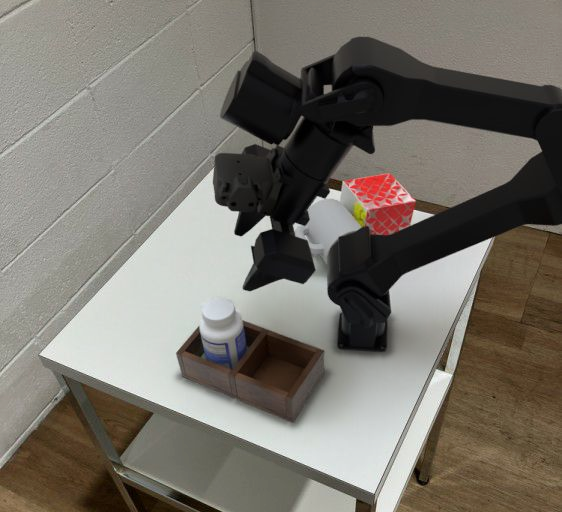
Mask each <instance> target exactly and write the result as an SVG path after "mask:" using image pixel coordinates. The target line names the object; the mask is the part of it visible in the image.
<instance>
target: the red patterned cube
mask: <svg viewBox="0 0 562 512" xmlns="http://www.w3.org/2000/svg"><path fill="white" fill-rule="evenodd" d="M339 197H340V198H339V202H341V203H342V204H343V205H344V206H345V208H346V209H347V210H348V211H349V212H350V214H351V215H352V216H353V217H354V218H355V220H356V221H357V222H358V223H359V224H360V226H361V227H365V226H369V228H370V231H371V233H372V234H376V235H390V234H393V233H395V232H397V231H400V230H402V229H404V228H406V227H409V226H411V223H412V219H413V215H414V210H415V207H416V202H417V200H416V199H415V198H414V197H413V196H412V195H411V194H410V193H409V192H408V191H407V190H406V188H405V187H403V185H402V184H400V182H399V181H398V180H397V179H396V178H395V177H394V176H393V175H392V174H391V173H390V172H388V173H383V174H377V175H371V176H364V177H359V178H352V179H347V180H342V184H341V191H340V196H339Z"/></svg>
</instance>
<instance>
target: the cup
mask: <svg viewBox="0 0 562 512" xmlns="http://www.w3.org/2000/svg"><path fill="white" fill-rule="evenodd" d="M308 214H309V218H310V220H309V222H308V223H307V225H306V226H303V225H300V224H299V225H298V226H297V227H296V228H295V229H294V231H295V236H296V237H299V238H302V239H305V240H308V243H309V246H310V249H311V254H312V257H320V258H321V259H322V261H324V263H325V264H326V265H327V256H328V253H329V251H330V248H331V247H332V246H333V245H334V244H336V243H337V242H338V237H339V236H346V235H349V234H352V233H354V232H356V231H357V230H359V229H360V228H362V227H361V226H360V224H359V223H358V222H357V221H356V220H355V218H354V217H353V216H352V215H351V214H350V212H349V211H348V210H347V209H346V208H345V206H344V205H343V204H342V203H341V202H340V200H338V199H335V198H325V199H324V198H322V199H321V200H320V199H319V200H318V201H316V202H314V203H312V204H311V206H310V207H309V209H308Z"/></svg>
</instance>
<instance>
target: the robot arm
mask: <svg viewBox="0 0 562 512" xmlns="http://www.w3.org/2000/svg"><path fill="white" fill-rule="evenodd" d="M325 86H330V87H331V90H330V91H329V92H327V93H325ZM301 117H302V118H301ZM219 118H220V119H221V120H224V121H225V122H227V123H229V124H231V125H233V126H235V127H236V128H239V129H241V130H242V131H245V132H246V133H248V134H250V135H252V136H254V137H256V138H258V139H259V140H262V141H263V142H265V143H267V144H269V145H275V147H272V148H271V149H269V148H267V147H264V146H261V145H260V144H256V143H254V144H251V145H247V146H245V147H244V148H243V150H242V151H241V153H235V152H234V153H231V152H219V153H217V154H216V155H215V156H214V163H213V166H214V167H213V175H212V186H213V193H214V201H215V203H216V204H217V205H219V206H221V207H227V208H228V210H230V211H231V212H238V216H237V218H236V222H235V227H234V230H233V233H234V236H238V237H243V236H245V235H246V234H247V233H248V232H250V231H251V230H252V229H253V228H254V227H255V226H256V225H258V224H259V223H260V222H261V221H262V220H263V219H264V218H265V217H269V219H270V220H269V221H270V225H271V228H270V229H268V230H264V231H260V232H259V234H258V235H257V237H256V238H255V241H254V244H253V245H250V250H251V256H252V261H253V262H252V265H251V267H250V269H249V271H248V273H247V275H246V276H245V280H244V282H243V284H242V290H243V291H245V292H253V291H255V290H258V289H261V288H263V287H265V286H267V285H270V284H273V283H275V282H278V281H282V280H287V281H290V282H293V283H296V284H299V285H305V284H306V283H307V282H308V281H309V280H310V279H311V278H312V276H313V275H314V273H316V271H317V270H316V266H315V263H314V258H313V255H312V254H311V249H310V246H309V243H308V241H309V239H307V240H305V239H302V238H299V237H296V236H295V227H294V225H296V224H298V225H299V226H300V225H303V226H306V225H307V223H308V222H309V220H310V218H309V214H308V209H309V208H310V207H311V206H312V205H313V204H314V203H315V202H314V201H315V200H316V199H317V198H321V199H327V197H328V196H329V194H330V193H331V190H330V186H329V183H328V182H329V181H330V179H332V176H333V175H334V174H335V173H336V171H337V170H338V168H339V167H340V165H341V164H342V162H343V161H344V160H345V158H346V157H347V155H349V154H348V153H350V151H351V150H352V149H353V147H355V148H358V149H360V150H361V151H363V152H365V153H367V154H368V155H373V154H374V153H375V152H376V145H375V137H374V136H375V135H374V127H392V126H396V125H399V124H403V123H406V122H408V121H428V122H435V123H439V124H444V125H445V124H446V125H452V126H457V127H463V128H467V129H474V130H480V131H486V132H492V133H497V134H503V135H508V136H509V135H510V136H515V137H519V138H520V137H521V138H525V139H532V140H534V141H537V143H538V145H539V148H540V149H541V151H540V152H539V153H537V154H535V155H534V156H532V157H531V158H529V160H527V162H526V163H525V164H524V165H523V166H522V167H521V168H520V169H519V171H517V172H516V173H515V175H513V177H512V178H511V179H510V180H509V181H507V182H506V183H505V182H504V183H503V184H501V185H499V186H496V187H494V188H492V189H489V190H488V191H485V192H483V193H481V194H479V195H476V196H474V197H472V198H470V199H468V200H465V201H463V202H461V203H458V204H456V205H453V206H451V207H449V208H447V209H445V210H443V211H440V212H437V213H436V214H433V215H431V216H429V217H427V218H424V219H423V220H420V221H418V222H415V223H413V224H410V226H409V227H406V228H404V229H402V230H400V231H397V232H395V233H393V234H390V235H376V234H372V233H371V231H370V228H369V226H365V227H362V228H360V229H359V230H357V231H356V232H354V233H352V234H349V235H346V236H339V237H338V242H337V243H336V244H334V245H333V246H332V247H331V248H330V251H329V253H328V256H327V264H326V284H327V285H326V287H327V288H326V291H327V293H326V294H327V297H328V298H329V301H331V302H332V303H333V304H334V305H336V306H339V308H340V310H341V312H340V313H339V319H338V331H337V342H336V347H337V349H338V350H349V351H350V350H351V351H365V352H367V351H368V352H386V351H387V348H388V319H389V318H390V316H391V314H392V306H391V295H390V290H391V289H392V287H394V285H396V283H397V282H398V281H399V280H400V279H401V278H402V277H403V276H404V275H406V274H408V273H411V272H412V271H415V270H417V269H420V268H422V267H424V266H427V265H429V264H431V263H435V262H437V261H439V260H442V259H444V258H447V257H448V256H452V255H454V254H456V253H459V252H461V251H464V250H466V249H469V248H471V247H474V246H477V245H478V244H480V243H484V242H485V241H488V240H491V239H492V238H496V237H498V236H500V235H502V234H504V233H507V232H510V231H512V230H514V229H517V228H519V227H522V226H525V225H536V226H550V227H551V226H552V227H553V226H555V227H557V226H561V225H562V88H561V87H559V86H556V85H554V84H543V85H536V84H531V83H525V82H521V81H515V80H509V79H505V78H498V77H494V76H493V77H492V76H487V75H482V74H477V73H471V72H466V71H460V70H455V69H449V68H444V67H438V66H433V65H430V64H428V63H425V62H423V61H421V60H419V59H417V58H416V57H414V56H413V55H411V54H409V53H408V52H406V51H405V50H403V49H402V48H400V47H397V46H394V45H392V44H389V43H387V42H384V41H383V40H382V41H381V40H379V39H377V38H374V37H371V36H356V37H352V38H350V40H348V41H347V42H346V43H344V44H343V45H341V46H340V47H339V49H338V50H337V51H336V53H333V54H332V55H329V56H326V57H324V58H323V59H320V60H318V61H317V60H316V61H315V62H312V63H311V64H308V65H305V66H303V67H301V69H300V77H297V76H296V75H295V74H293V73H291V72H289V71H288V70H286V69H284V68H283V67H281V66H279V65H277V64H275V63H274V62H272V61H271V59H269V57H268V56H266V55H264V54H262V53H261V52H259V51H257V50H253V51H252V53H251V55H250V57H249V59H248V60H246V61H245V63H244V64H243V65H242V67H241V68H240V70H239V69H237V71H236V73H235V75H234V77H233V79H232V81H231V83H230V85H229V88H228V91H227V93H226V95H225V98H224V100H223V103H222V106H221V109H220V114H219ZM299 120H300V121H299ZM286 140H288V141H287V143H286V144H285V145H284V147H283V146H281V145H280V144H281V143H282V142H283V141H286Z"/></svg>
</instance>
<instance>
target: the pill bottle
mask: <svg viewBox="0 0 562 512" xmlns="http://www.w3.org/2000/svg"><path fill="white" fill-rule="evenodd" d="M243 320H244V319H243V317H242V315H241V314H240V313H239V312H238V311H237V310H236V306H235V303H234V301H233V300H231V299H230V298H229V297H226V296H213V297H210V298H208V299H207V300H206V301H204V302H203V304H202V306H201V318H200V320H199V323H198V324H199V325H198V326H199V328H200V334H201V338H202V343H203V347H204V351H205V356H206V360H208V361H211V362H213V363H216V364H218V365H221V366H223V367H226V368H228V369H231V370H233V368H234V367H235V366H236V364H237V363H238V362H239V360H240V359H241V358H242V357H243V355H244V354H245V353H246V351H247V346H246V339H245V332H244V326H243Z"/></svg>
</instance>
